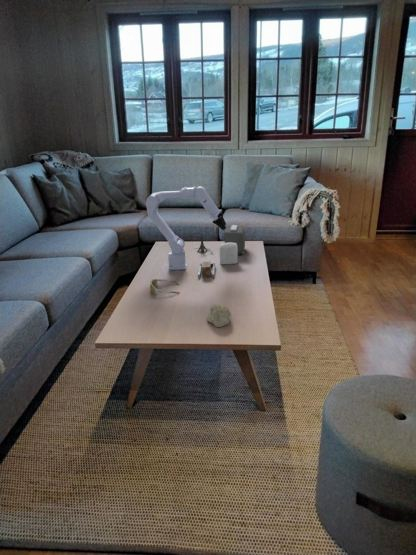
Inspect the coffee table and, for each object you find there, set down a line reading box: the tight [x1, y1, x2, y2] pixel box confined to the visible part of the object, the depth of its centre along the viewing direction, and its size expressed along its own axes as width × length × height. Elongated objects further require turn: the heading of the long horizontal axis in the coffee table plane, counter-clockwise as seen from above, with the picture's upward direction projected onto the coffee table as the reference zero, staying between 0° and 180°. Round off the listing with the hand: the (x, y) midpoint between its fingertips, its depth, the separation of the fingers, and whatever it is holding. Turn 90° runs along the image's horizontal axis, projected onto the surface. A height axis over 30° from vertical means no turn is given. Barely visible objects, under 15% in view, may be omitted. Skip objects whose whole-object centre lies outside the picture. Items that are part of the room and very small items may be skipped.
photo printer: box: [219, 242, 239, 265], centre depth 235 cm, size 10×4×12 cm, turn 98°
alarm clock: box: [223, 224, 246, 256], centre depth 253 cm, size 16×11×16 cm
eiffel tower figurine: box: [193, 232, 214, 256], centre depth 256 cm, size 15×10×13 cm
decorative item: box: [206, 304, 232, 328], centre depth 175 cm, size 12×9×10 cm
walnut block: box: [201, 261, 212, 278], centre depth 222 cm, size 4×8×6 cm, turn 177°
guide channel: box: [197, 262, 216, 279], centre depth 226 cm, size 8×16×2 cm, turn 177°
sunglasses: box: [149, 278, 181, 296], centre depth 207 cm, size 14×15×5 cm
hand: (224, 227), depth 223 cm, fingers open, 7 cm apart
